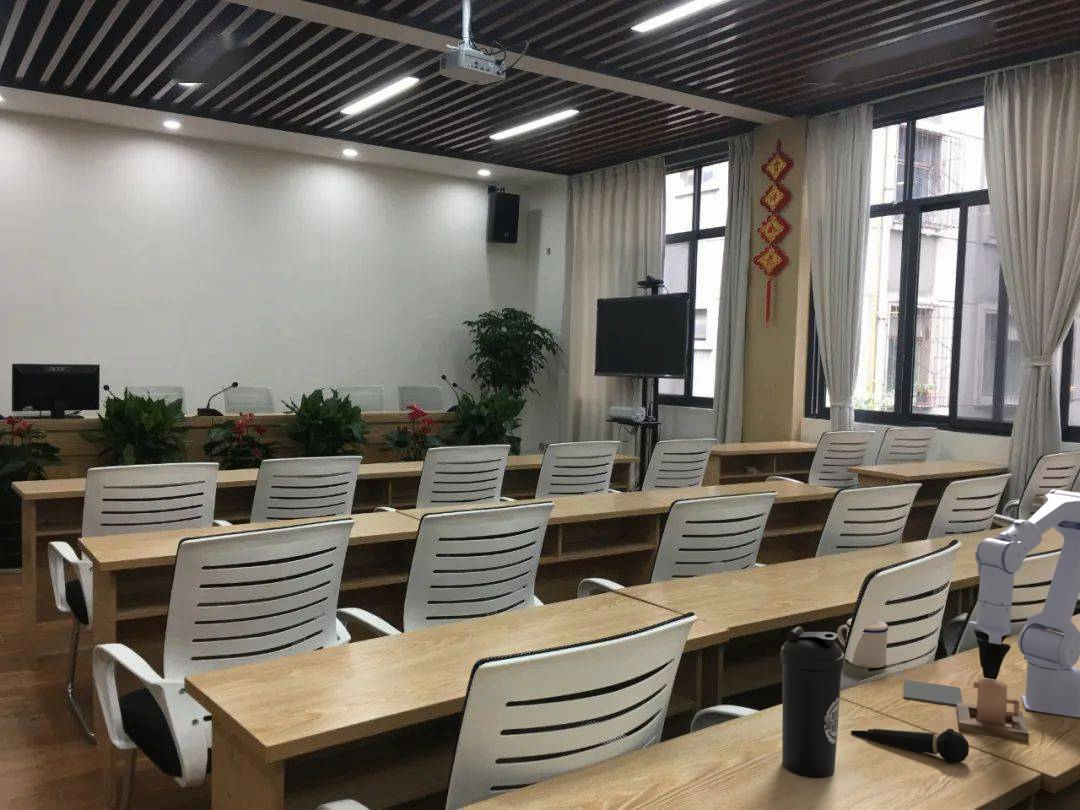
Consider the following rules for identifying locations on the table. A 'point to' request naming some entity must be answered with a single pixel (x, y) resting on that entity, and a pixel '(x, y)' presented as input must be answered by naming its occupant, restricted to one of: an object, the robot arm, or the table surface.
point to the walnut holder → (1014, 732)
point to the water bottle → (810, 702)
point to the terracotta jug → (994, 702)
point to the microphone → (923, 742)
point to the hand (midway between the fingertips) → (988, 673)
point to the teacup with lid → (869, 645)
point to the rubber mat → (932, 692)
